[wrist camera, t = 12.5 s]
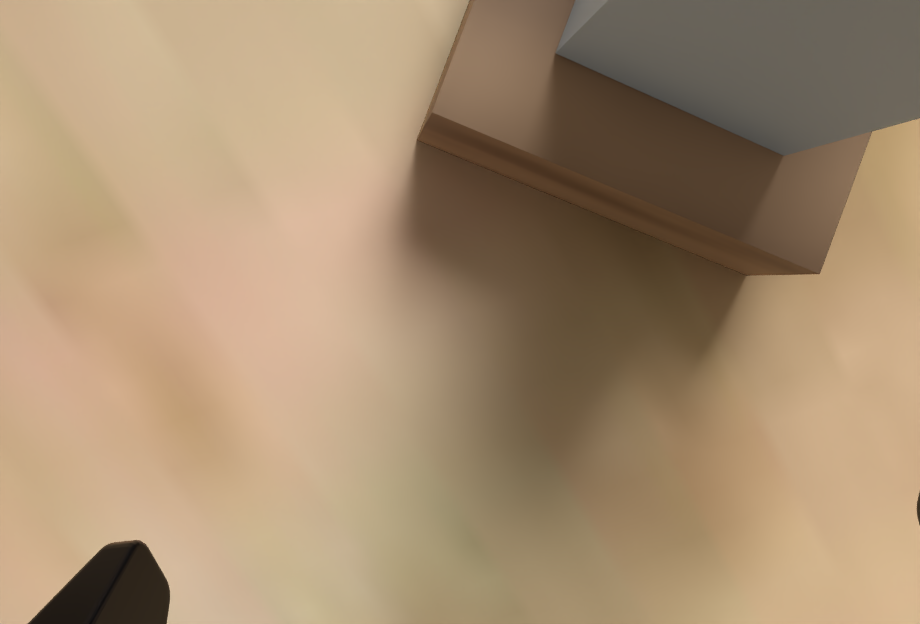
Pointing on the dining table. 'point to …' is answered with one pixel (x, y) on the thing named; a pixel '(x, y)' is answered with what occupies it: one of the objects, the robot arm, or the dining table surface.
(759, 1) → the slate block
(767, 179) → the walnut block
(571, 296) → the dining table surface
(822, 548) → the dining table surface
